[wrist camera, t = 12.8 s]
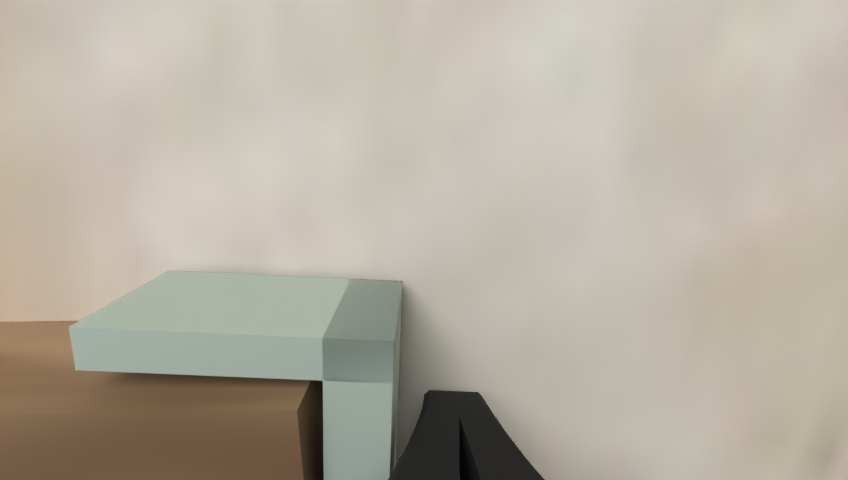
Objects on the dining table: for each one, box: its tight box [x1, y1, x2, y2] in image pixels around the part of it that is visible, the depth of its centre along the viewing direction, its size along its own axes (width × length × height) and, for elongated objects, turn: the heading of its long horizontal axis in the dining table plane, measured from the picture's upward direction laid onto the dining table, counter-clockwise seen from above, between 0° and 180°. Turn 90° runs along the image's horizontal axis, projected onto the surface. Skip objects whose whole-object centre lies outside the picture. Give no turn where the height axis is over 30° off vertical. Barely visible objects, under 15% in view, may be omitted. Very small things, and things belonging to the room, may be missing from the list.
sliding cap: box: [69, 270, 403, 480], centre depth 10 cm, size 7×5×3 cm
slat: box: [0, 321, 324, 480], centre depth 10 cm, size 4×14×4 cm, turn 91°
